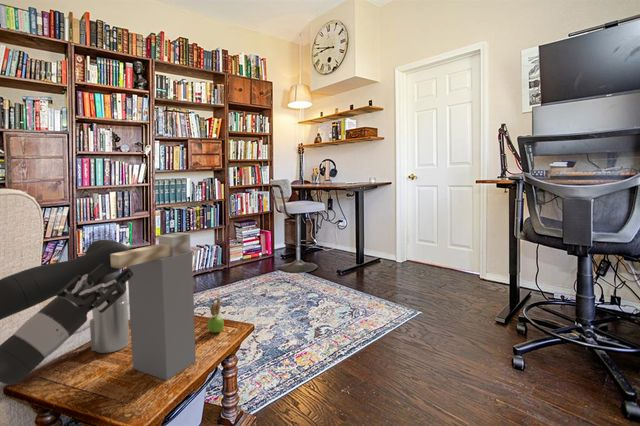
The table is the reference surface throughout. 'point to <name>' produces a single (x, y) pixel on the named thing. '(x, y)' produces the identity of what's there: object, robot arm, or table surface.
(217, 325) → the snail figurine
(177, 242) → the beam
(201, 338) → the table surface
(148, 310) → the pedestal
